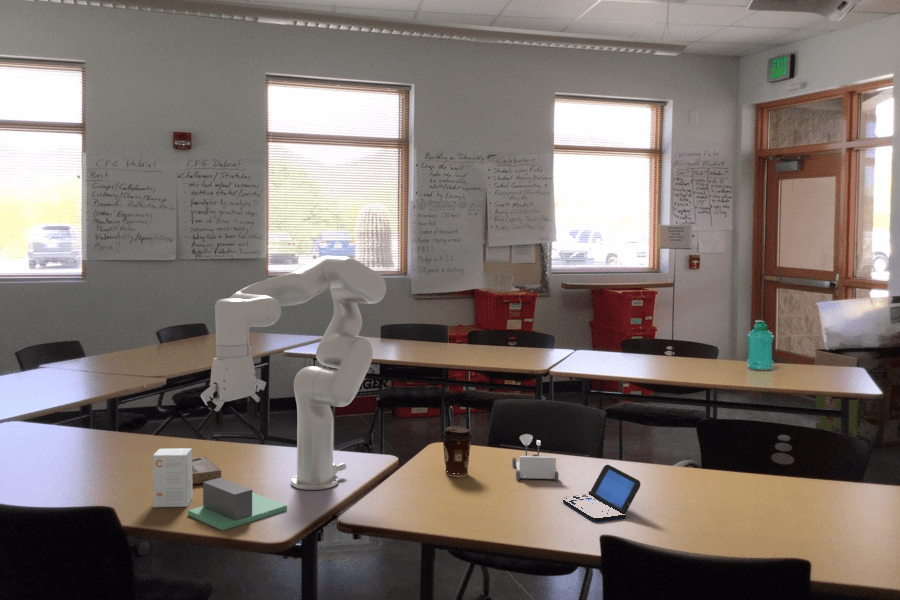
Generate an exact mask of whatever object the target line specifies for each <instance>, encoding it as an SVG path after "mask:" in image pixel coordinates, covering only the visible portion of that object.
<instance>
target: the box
mask: <svg viewBox="0 0 900 600" xmlns="http://www.w3.org/2000/svg"><path fill="white" fill-rule="evenodd" d="M217 478H222V470H221V469H220V468H218V466H216V465H215V464H214V463H213V462H212V461H211V460H209V459H208V457H206V456H201V457H192V483H193V485H198V486H199V485H200V484H203V482H205V481H209V480H213V479H217Z"/></svg>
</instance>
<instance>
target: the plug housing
mask: <svg viewBox="0 0 900 600" xmlns="http://www.w3.org/2000/svg"><path fill="white" fill-rule="evenodd" d="M202 485H203V486H202V503H203V504H202V506H203V507H205V508H208V509H210V510H212V511H215V512H217V513H219V514H222V515H224V516H226V517H229V518H231V519H233V520H237V519H240V518H243V517H246V516H250V515H252V492H253V489H252V488H250V487H247V486H244V485H241V484H239V483H235V482H234V481H231V480H228V479H225V478H223V477H221V478H217V479H213V480H209V481H205V482H203V483H202Z"/></svg>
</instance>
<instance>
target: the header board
mask: <svg viewBox="0 0 900 600" xmlns="http://www.w3.org/2000/svg"><path fill="white" fill-rule="evenodd" d="M286 511H288V506H287V505H286V504H285V503H282V502H279V501H276V500H274V499H271V498H269V497H265V496H263V495H261V494H257V493H255V492H253V491H252V515H250V516H246V517H243V518H240V519H237V520H233V519H231V518H229V517H226V516H224V515H222V514H219V513H217V512H215V511H212V510H210V509H208V508H205V507H203V505H202V506H198V507H195V508H191V509H188V511H187V515H188V516H189V517H191V518H193V519H196V520H198V521H200V522H203V524H206V525H208V526H211V527H214V528H216V529H217V530H220V531H221V532H222V531H225V530H226V531H227V530H228V529H229V530H230V529H232V528H235V527H238V526H241V525H244V524H248V523H251V522H254V521H257V520H261V519H263V518H266V517H270V516H273V515H277V514H279V513H282V512H286ZM266 512H267V513H266ZM263 513H264V514H263Z"/></svg>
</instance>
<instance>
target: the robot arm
mask: <svg viewBox="0 0 900 600" xmlns="http://www.w3.org/2000/svg"><path fill="white" fill-rule="evenodd" d="M326 290H329V292H330V295H331V299H332V303H333V304H332V305H333V315H332V319H331V320H330V322H329V324H328V326H327V328H326V329H325V332H324V334H323V336H322V337H321V339H320V341H319V344H318V346H317V348H316V350H315V351H316V352H315V357H316V360H317V362H319V363H320V365H323V366H324V367H323V366H318V365H316V366H315V365H314V366H313V365H312V366H311V365H310V366H305V367H303V368H301V369H299V370H298V371H297V373H296V375H295V377H294V380H293V391H294V392H293V393H294V396H295V397H294V398H295V402H296V411H297V412H296V413H297V414H296V415H297V417H296V419H297V424H296V425H297V426H296V427H297V428H296V437H297V438H296V439H297V441H296V474H295V475H293V476H292V477H291V479H290V484H291V486H293V487H294V488H296V489H300V490H306V491H319V490H321V491H322V490H327V489H330V488H334V487H335V486H336V485H339V480H340V479H339V477H338V476H337V473H339V472H341V471H344V470H346V469H347V465H346V463H345V462H342V463H341V462H340V463H338V464H337V463H335V462H334V415H333V414H334V413H333V411H332V408H331V407H337V408H338V407H339V408H341V407H342V408H343V407H346V406H349V404H351V403H352V401H353V400H354V399H355V398H356V395H358V392H359V390H360V387H361V385H362V383H363V381H364V380H365V377H366V375H367V373H368V371H369V369H370V367H371V365H372V361H373V357H374V356H373V355H374V354H373V353H374V350H373V345H372V343H371V342H370V340H368V339H367V338H366V337H364V336H361V335H359V334H360V332H361V329H362V327H363V318H362V317H363V316H362V314H361V311H360V308H359V305H358V304H366V305H368V304H369V305H374V304H377V303H380V302H381V301H382V300H384V298H385V296H386V292H387V284H386V281H385V279H384V277H383V276H382V275H381V274H380V273H378V272H377V271H375V270H374V269H372V268H370V267H369V266H367V265H365V264H364V263H363V262H361V261H359V260H357V259H356V258H353V257H350V256H340V255H338V256H337V255H323V256H319V257H317V258H315V259H313V260H311V261H309V262H307V263H305V264H304V265H301V266H300V267H298V268H295V269H294V270H291V271H290V272H288V273H285V274H280V275H276V276H274V277H271V278H267V279H263V280H260V281H258V282H255V283H251V284H249V285H247V286H245V287H244V288H241V289H240V290H238V291H236V292H234V293H233V294H232V295H230V297H229V298H227V297H226V298H220V299H217V301H216V302H215V304H214V316H215V317H214V318H215V345H216V346H215V347H216V350H215V351H216V357H214V358H213V359H212V364H211V372H210V385H209V387H207V388H206V389H205V390H204V391H203V392H201V394H200V398H201V400H202V401H203V403H204V405H205V406H206V407H208V409H209V410H211V411H210V413H211V423H212V426H213V427H216V428H219V429H221V428H223V427H224V421H223V419H224V417H223V411H222V410H221V408H222V407H223V405H224V404H225V402H232V401H237V400H239V399H244V398H245V399H246V398H247V399H248V400H247V402H246V408H247V409H246V410H247V411H246V413H247V418H250V419H253V420H257V419H258V412H259V407H258V403H259V402H260V400H261V398H262V395H263V394H264V391H265V388H266V385H267V382H266V381H264V380H262V379H259V378H257V377H256V375H257V374H256V368H255V363H254V360H253V356H252V354H251V350H253V349H254V344H253V343H251V341H250V328H252V327H253V328H257V327H259V328H267V327H270V326H272V325H275V323H277V321H279V319H280V318H281V315H282V307H289V306H296V305H301V304H304V303H306V302H308V301H309V300H310V301H311V299H313V298H314V297H316V296H318V295H320V294H322V293H323V292H325V291H326ZM211 399H212V400H211Z"/></svg>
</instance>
